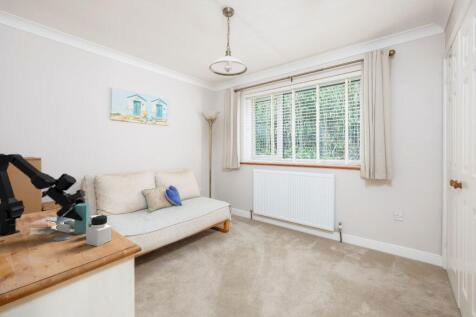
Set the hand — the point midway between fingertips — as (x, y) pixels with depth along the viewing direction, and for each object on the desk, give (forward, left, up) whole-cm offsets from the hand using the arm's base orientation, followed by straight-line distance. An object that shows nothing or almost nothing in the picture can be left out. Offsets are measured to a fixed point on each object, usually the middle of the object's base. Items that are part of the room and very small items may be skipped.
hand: (85, 217), depth 111 cm
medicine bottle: (+18, -7, -7) cm, 20 cm away
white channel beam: (-13, -1, -7) cm, 15 cm away
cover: (-18, -1, -3) cm, 19 cm away
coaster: (-1, -10, -7) cm, 12 cm away
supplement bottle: (+9, -2, -7) cm, 12 cm away
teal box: (-1, -1, -7) cm, 7 cm away
